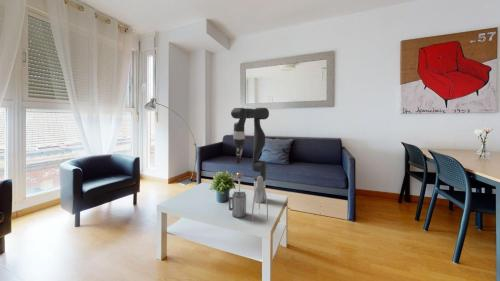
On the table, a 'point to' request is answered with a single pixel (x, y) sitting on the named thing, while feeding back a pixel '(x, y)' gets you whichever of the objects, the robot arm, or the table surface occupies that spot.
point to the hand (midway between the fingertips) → (239, 161)
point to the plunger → (239, 175)
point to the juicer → (260, 186)
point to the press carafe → (238, 204)
